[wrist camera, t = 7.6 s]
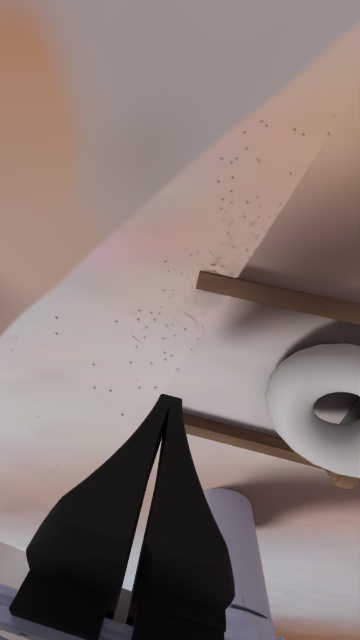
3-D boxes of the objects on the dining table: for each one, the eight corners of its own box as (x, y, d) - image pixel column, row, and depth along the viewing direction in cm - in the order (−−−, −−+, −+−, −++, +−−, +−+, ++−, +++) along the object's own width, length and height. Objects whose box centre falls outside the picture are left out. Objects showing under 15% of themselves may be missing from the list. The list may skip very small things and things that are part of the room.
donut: (269, 345, 13) (496, 365, 9) (267, 332, 16) (435, 343, 12) (262, 462, 15) (444, 519, 11) (261, 431, 18) (403, 466, 14)
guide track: (333, 460, 19) (350, 489, 17) (166, 417, 20) (161, 439, 18) (445, 323, 13) (496, 338, 11) (199, 270, 14) (199, 274, 12)
